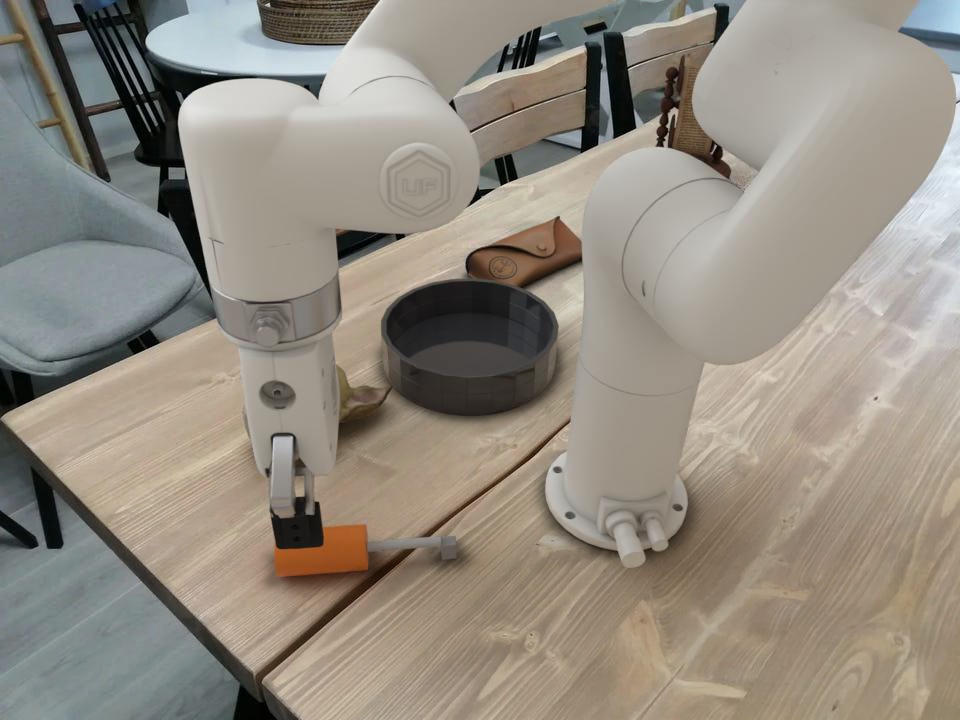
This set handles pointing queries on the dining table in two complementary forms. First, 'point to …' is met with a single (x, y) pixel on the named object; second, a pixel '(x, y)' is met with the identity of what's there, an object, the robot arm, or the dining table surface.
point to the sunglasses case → (526, 254)
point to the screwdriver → (349, 551)
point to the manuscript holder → (687, 121)
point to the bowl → (469, 346)
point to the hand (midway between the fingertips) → (306, 493)
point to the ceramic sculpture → (350, 401)
